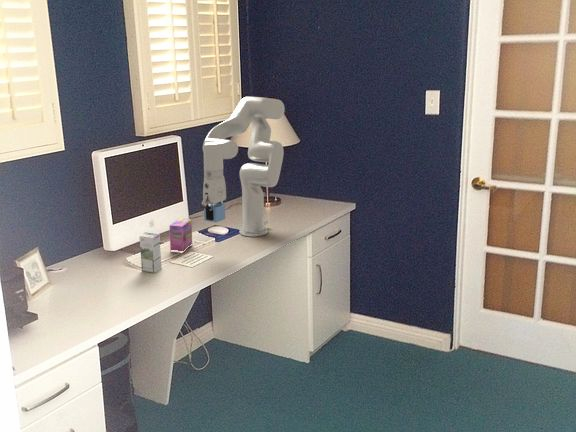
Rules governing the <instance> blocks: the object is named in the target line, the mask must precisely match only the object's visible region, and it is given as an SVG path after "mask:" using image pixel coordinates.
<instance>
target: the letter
mask: <svg viewBox="0 0 576 432" xmlns="http://www.w3.org/2000/svg"><path fill="white" fill-rule="evenodd" d="M213 258H214V256H213V255H208V254H204V253H199V252H195V251H194V252H193V251H190V252H188V253H186V254H184V255H182V256H180V257H177V258H176V259H174V260H171V261H169V263H171V264H175V265H179V266H183V267H188V268H194V267H196V266H199V265H200V264H202V263H204V262H206V261H208V260H210V259H213Z"/></svg>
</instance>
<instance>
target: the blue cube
mask: <svg viewBox="0 0 576 432" xmlns="http://www.w3.org/2000/svg"><path fill="white" fill-rule="evenodd" d="M208 205H209V207H210V204H208ZM212 211H213V220H206V210H205V208H204V207H203V220H204V221H205V222H212V223H219V222H221V221H223V220H226V204H218V203H216V204H213V208H212Z"/></svg>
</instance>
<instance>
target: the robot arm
mask: <svg viewBox="0 0 576 432" xmlns="http://www.w3.org/2000/svg"><path fill="white" fill-rule="evenodd" d="M285 110H286V109H285V103H283V101H282V100H280V99H278V98H277V99H276V98H269V97H262V96H261V97H259V96H245V97H243V98H241V100H240V101H239V102H238V104H237V106H236V107H235V109H234V111H233V112H232V114H231V115H230V117H229V118H228V119H226V120H224V121H223V122H221V123H219V124H217V125H215V126H214V127H213V128H212V129H211V130H210V131H209V132H208V133H207V135H206V137H205V139H204V140H203V144H202V152H203V186H202V198H203V199H202V201H201V206H203V209H204V208H205V210H206V220H213V211H212V208H213V204H216V203H218V204H224V203H225V201H226V200H227V186H226V185H227V184H226V179H225V176H224V160H231V159H233V158H235V157H236V156H238V155H237V154H238V153H239V145H238V143H237V142H236V141H234V140H231V139H227V138H232V137H235V136H239V135H240V134H244V133H245V132H247V130H248V129H249V127H250V125H251V134H250V135H251V136H250V139H249V144H248V150H247V156H248V159H250V160H251V161H254V162H260V163H253V162H247V163H244V164H242V166H241V167H240V170H239V180H240V185H241V196H242V199H241V201H242V203H241V204H242V207H241V208H242V227H241V228H240V229H239V234H240V235H242V236H244V237H261V236H265V235H267V234H268V229H267V228H266V227H265V226H266V225H267V224H269V220H268V219H265V211H264V209H265V201H264V200H265V199H264V198H265V195H264V191H263V188H262V187H265V188H266V187H267V188H273V187H275V186H277V184H278V182H279V179H280V174H281V170H282V165H283V160H284V151H285V150H284V147H283V146H284V145H283V144H282V143H281V142H279V141H277V140H271V136H272V128H271V126H270V123H269V122H268V121H267V120H268V119H269V120H280V119H281V118H282V117H283V116H284V114H285ZM261 162H262V163H268V164H262V163H261ZM208 204H210V207H209V205H208Z"/></svg>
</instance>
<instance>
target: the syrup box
mask: <svg viewBox="0 0 576 432" xmlns="http://www.w3.org/2000/svg"><path fill="white" fill-rule="evenodd" d="M160 235H161V234H160V232H159V233H158V232H152V231H145V232H143V233H142V234H140V235H139V246H140V248H139V249H140V263H141V271H142V272H143V273H151V274H155V273H157V272H159V271H160V270H162V255H161V254H162V253H161V236H160Z"/></svg>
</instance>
